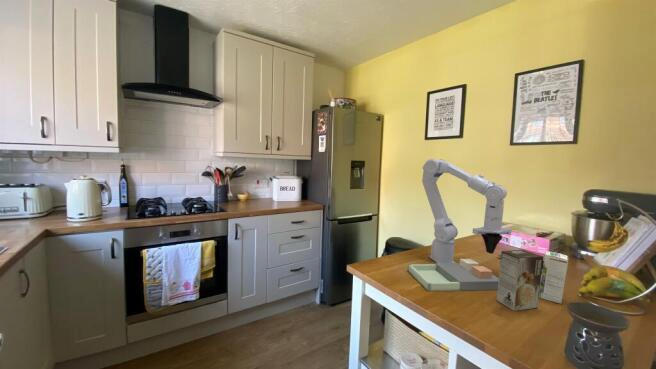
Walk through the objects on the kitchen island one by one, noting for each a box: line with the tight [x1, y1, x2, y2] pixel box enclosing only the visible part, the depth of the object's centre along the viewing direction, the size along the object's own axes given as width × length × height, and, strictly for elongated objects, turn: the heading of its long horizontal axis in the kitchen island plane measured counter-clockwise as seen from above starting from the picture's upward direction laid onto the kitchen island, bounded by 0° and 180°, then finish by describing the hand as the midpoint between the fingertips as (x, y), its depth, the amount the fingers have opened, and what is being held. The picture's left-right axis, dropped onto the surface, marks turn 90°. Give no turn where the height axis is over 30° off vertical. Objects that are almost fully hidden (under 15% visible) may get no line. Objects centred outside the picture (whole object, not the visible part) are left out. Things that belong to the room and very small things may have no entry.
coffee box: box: [496, 249, 544, 312], centre depth 83 cm, size 9×6×16 cm
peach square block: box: [471, 265, 493, 279], centre depth 96 cm, size 4×4×2 cm
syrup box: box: [539, 250, 569, 305], centre depth 88 cm, size 6×6×14 cm
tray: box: [407, 263, 460, 292], centre depth 98 cm, size 16×11×2 cm
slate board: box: [434, 262, 499, 292], centre depth 100 cm, size 16×16×3 cm
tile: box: [459, 258, 480, 270], centre depth 103 cm, size 4×4×2 cm
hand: (489, 252), depth 104 cm, fingers closed
